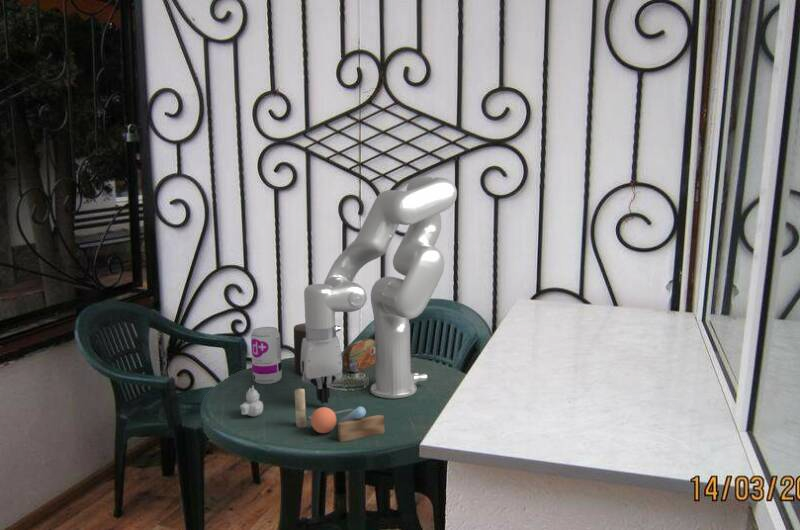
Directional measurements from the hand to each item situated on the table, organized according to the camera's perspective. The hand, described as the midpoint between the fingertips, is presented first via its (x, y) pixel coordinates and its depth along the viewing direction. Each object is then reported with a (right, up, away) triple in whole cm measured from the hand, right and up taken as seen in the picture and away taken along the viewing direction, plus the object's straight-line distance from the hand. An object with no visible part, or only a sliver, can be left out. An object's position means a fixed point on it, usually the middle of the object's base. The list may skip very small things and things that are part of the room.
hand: (323, 401), depth 186 cm
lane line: (+2, -2, -5) cm, 6 cm away
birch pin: (-4, -4, -12) cm, 13 cm away
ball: (+2, -1, -16) cm, 16 cm away
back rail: (+11, -5, -19) cm, 22 cm away
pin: (+6, -3, -13) cm, 15 cm away
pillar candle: (-7, +3, +30) cm, 31 cm away
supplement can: (-18, +2, +22) cm, 29 cm away
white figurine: (-17, -3, -5) cm, 18 cm away
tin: (+8, +4, +31) cm, 33 cm away
